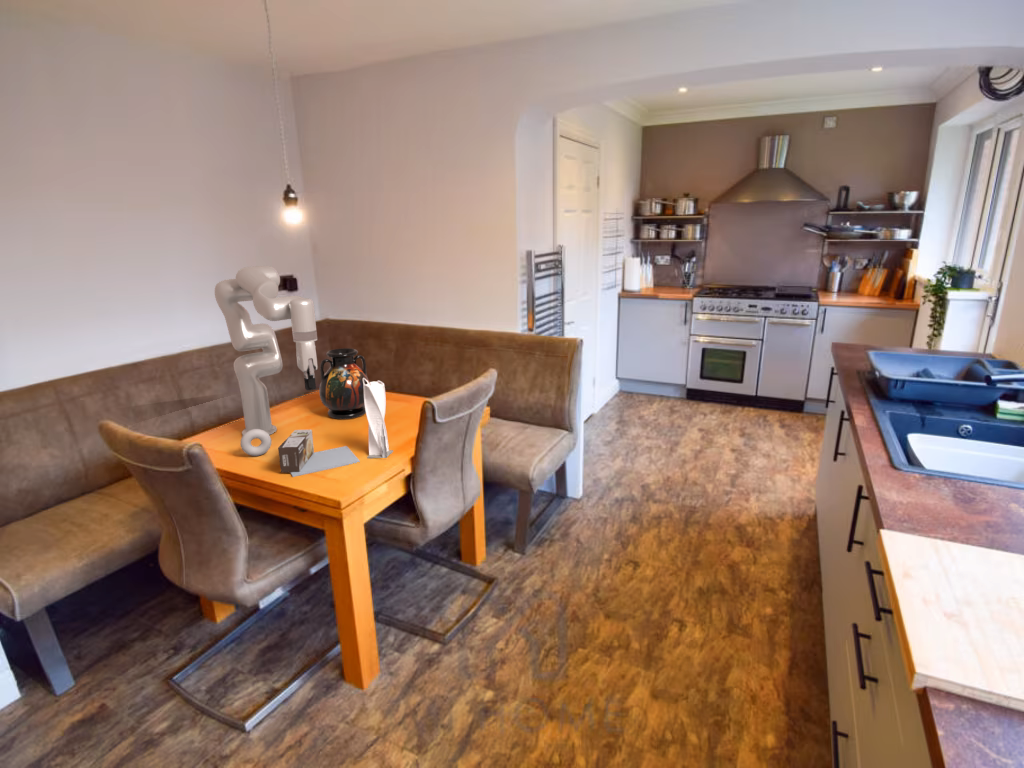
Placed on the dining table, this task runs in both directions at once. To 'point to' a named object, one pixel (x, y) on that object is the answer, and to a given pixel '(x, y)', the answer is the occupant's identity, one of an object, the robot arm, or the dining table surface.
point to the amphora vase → (343, 384)
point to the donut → (254, 450)
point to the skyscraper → (376, 419)
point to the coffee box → (296, 451)
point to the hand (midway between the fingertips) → (310, 389)
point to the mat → (328, 460)
